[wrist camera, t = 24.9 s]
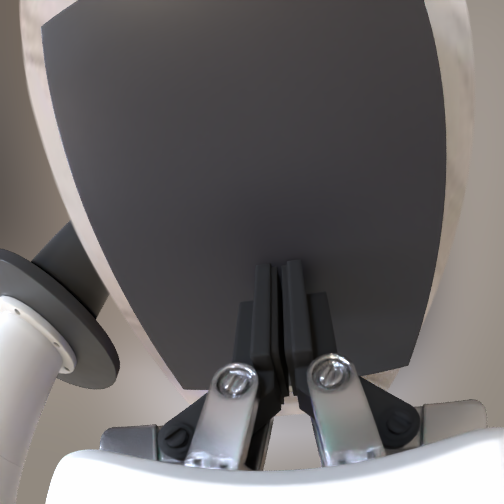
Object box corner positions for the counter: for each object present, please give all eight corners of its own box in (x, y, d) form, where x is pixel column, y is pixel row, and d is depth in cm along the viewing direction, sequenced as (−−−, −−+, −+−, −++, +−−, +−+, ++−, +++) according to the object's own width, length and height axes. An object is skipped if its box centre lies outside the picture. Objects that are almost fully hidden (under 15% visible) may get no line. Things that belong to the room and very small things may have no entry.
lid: (405, 356, 14) (408, 365, 13) (185, 380, 16) (183, 389, 15) (394, -51, 4) (401, -57, 3) (50, 27, 6) (40, 26, 5)
